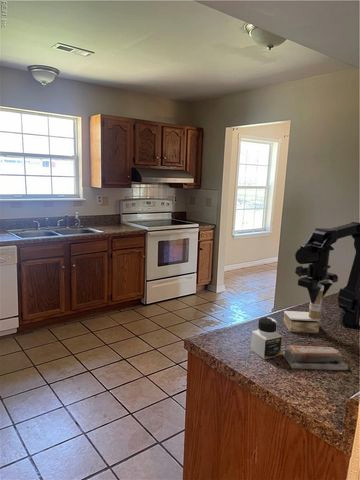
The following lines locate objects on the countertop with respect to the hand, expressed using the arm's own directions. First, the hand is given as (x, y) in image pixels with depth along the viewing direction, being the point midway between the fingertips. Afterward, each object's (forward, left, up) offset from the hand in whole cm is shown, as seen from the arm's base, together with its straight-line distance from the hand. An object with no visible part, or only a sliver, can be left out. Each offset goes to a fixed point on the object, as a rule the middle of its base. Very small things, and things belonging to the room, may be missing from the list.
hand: (315, 301), depth 132 cm
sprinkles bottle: (0, 0, -7) cm, 7 cm away
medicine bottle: (+22, +18, -13) cm, 31 cm away
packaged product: (+7, +22, -14) cm, 27 cm away
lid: (+3, -5, -8) cm, 10 cm away
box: (+3, -5, -13) cm, 14 cm away
